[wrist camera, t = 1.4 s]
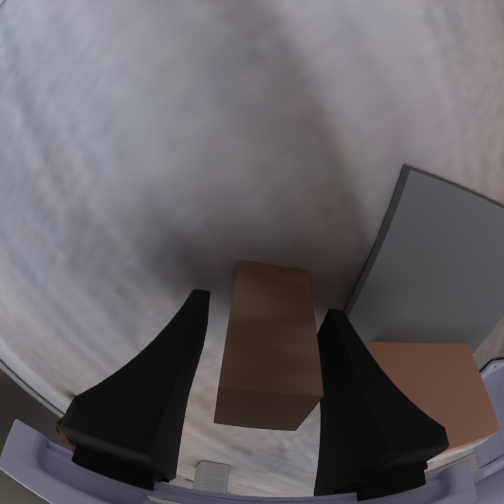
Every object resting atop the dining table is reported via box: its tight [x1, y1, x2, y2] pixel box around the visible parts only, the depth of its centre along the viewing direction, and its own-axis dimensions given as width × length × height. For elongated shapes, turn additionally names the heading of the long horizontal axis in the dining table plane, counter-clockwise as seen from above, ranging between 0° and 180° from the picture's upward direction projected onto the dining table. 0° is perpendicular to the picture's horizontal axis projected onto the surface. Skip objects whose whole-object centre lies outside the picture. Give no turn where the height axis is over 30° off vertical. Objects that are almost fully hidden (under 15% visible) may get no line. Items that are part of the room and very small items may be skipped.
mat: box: [344, 165, 504, 355], centre depth 13 cm, size 12×12×1 cm
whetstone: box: [366, 341, 500, 463], centre depth 12 cm, size 8×2×7 cm, turn 81°
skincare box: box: [193, 461, 229, 494], centre depth 28 cm, size 6×4×12 cm
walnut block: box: [214, 260, 324, 431], centre depth 11 cm, size 3×3×6 cm
